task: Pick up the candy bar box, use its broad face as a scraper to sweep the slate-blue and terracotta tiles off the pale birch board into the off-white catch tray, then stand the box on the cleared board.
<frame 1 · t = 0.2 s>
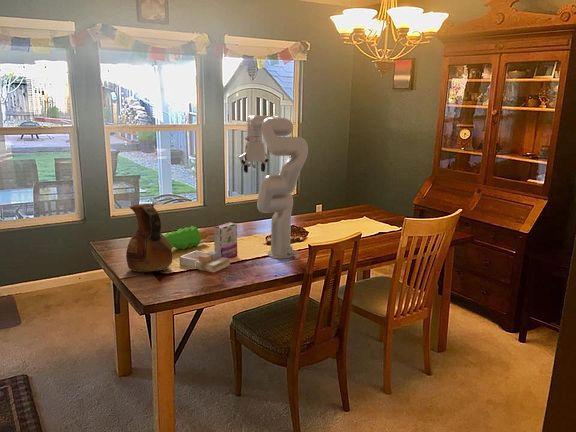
hand: (254, 171, 272), 37 cm above the table, tool pointing down, fingers open, 9 cm apart
candy bar box: (225, 258, 246), on the table
tile a: (211, 257, 235), point 3 cm above the table, touching board
tray: (195, 263, 237), on the table
board: (213, 266, 233), on the table
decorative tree: (180, 249, 259), on the table
tile b: (205, 260, 231), point 3 cm above the table, touching board
ceramic pitcher: (150, 270, 227), on the table
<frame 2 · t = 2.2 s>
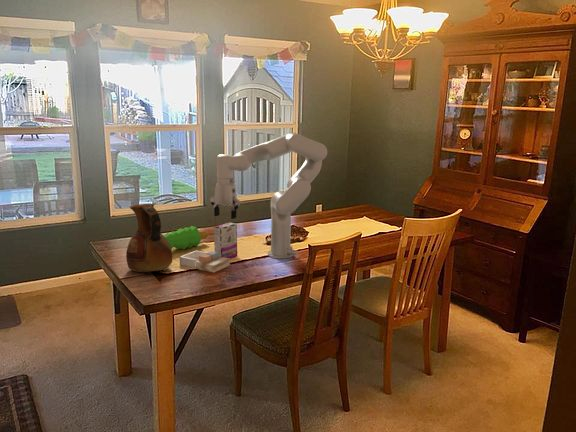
hand: (225, 217, 241), 20 cm above the table, tool pointing down, fingers open, 9 cm apart
nothing on the table moved.
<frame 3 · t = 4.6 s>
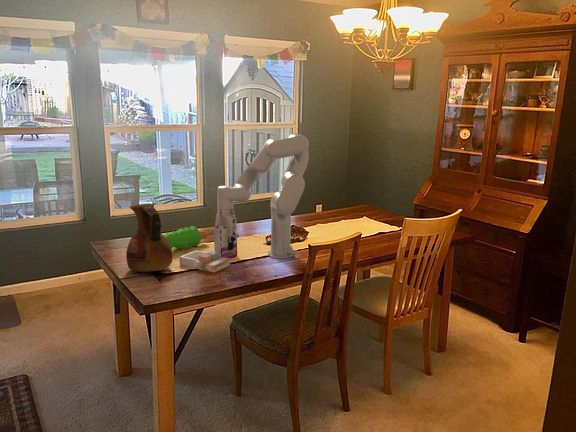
hand: (225, 248, 245), 5 cm above the table, tool pointing down, fingers closed on candy bar box, 5 cm apart
candy bar box: (225, 258, 246), on the table, touching gripper
everything else where it was.
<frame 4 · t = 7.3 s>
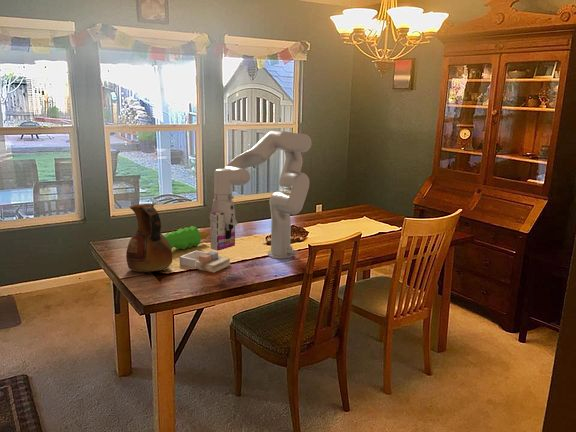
hand: (222, 237, 226), 15 cm above the table, tool pointing down, fingers closed on candy bar box, 5 cm apart
candy bar box: (222, 247, 227), point 10 cm above the table, touching gripper
everything else where it was.
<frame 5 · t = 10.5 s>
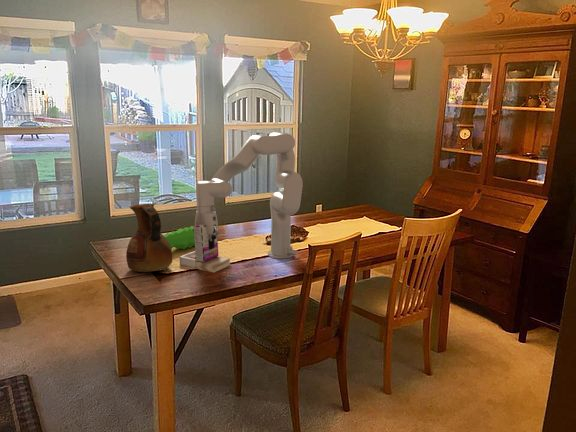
hand: (206, 247, 232), 9 cm above the table, tool pointing down, fingers closed on candy bar box, 5 cm apart
candy bar box: (207, 259, 233), point 3 cm above the table, touching board, gripper, tray
tile a: (204, 257, 238), point 2 cm above the table, tilted 90°, touching tray
tile b: (197, 260, 233), point 2 cm above the table, tilted 90°, touching tray
everything else where it was.
when the fingers open (9 cm above the table, at t = 12.0 s): candy bar box stays where it is, resting on board.
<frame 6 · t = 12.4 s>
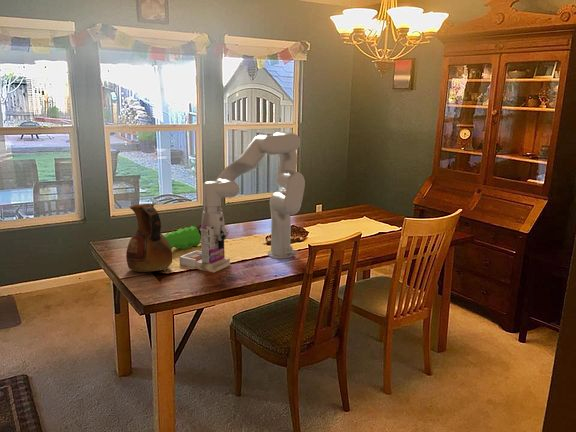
hand: (212, 246, 230), 10 cm above the table, tool pointing down, fingers open, 8 cm apart
candy bar box: (213, 260, 232), point 3 cm above the table, touching board
everything else where it was.
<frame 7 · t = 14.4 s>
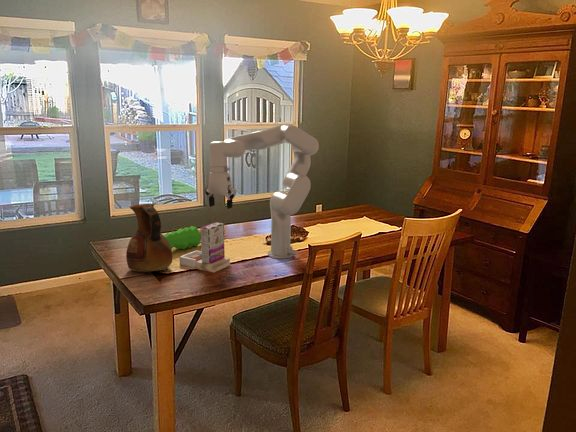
hand: (220, 207, 231), 27 cm above the table, tool pointing down, fingers open, 9 cm apart
nothing on the table moved.
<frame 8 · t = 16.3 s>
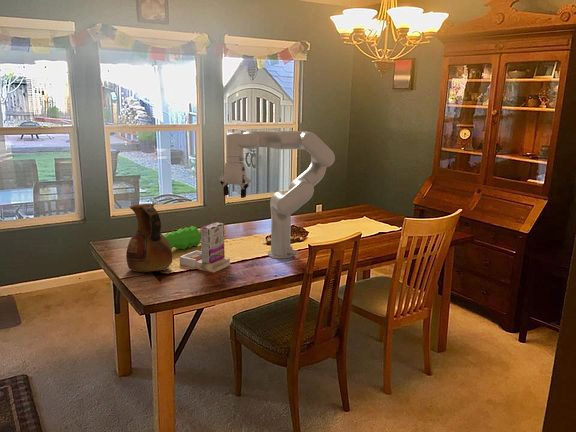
hand: (234, 196, 239), 30 cm above the table, tool pointing down, fingers open, 9 cm apart
nothing on the table moved.
at the end: tile a inside the target area on the tray (4.1 cm from its centre), point 2.5 cm above the tray's base; tile b inside the target area on the tray (4.0 cm from its centre), point 2.5 cm above the tray's base; candy bar box inside the target area (0.0 cm from its centre), point 3.0 cm above the table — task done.
